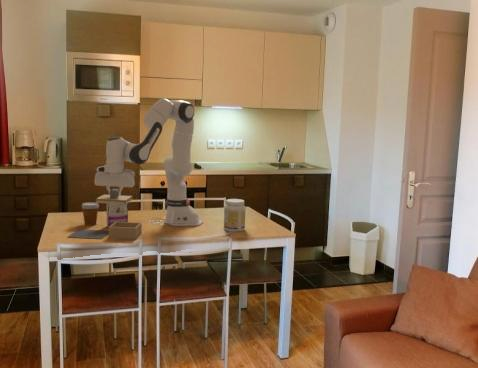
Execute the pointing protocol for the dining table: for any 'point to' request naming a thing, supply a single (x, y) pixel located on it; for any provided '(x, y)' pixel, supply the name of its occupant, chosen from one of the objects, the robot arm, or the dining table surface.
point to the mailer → (125, 230)
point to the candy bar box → (116, 213)
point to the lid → (114, 198)
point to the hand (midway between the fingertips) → (114, 194)
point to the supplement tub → (234, 215)
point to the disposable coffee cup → (90, 213)
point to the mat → (89, 234)
